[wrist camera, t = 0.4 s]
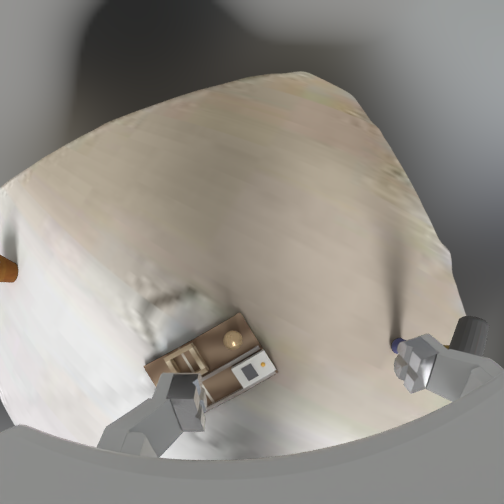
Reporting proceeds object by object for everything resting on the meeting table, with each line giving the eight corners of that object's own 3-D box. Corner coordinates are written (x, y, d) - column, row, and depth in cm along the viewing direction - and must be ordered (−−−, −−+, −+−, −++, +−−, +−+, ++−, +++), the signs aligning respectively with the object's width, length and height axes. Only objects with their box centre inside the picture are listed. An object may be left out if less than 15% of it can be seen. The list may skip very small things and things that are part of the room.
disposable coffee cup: (14, 293, 57) (-12, 288, 46) (1, 277, 58) (-23, 270, 46) (24, 267, 59) (-1, 259, 48) (12, 252, 60) (-12, 242, 48)
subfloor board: (277, 371, 57) (278, 373, 55) (181, 421, 53) (179, 424, 51) (240, 312, 60) (240, 312, 58) (145, 365, 56) (141, 367, 54)
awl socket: (209, 369, 55) (207, 371, 52) (183, 382, 54) (180, 385, 51) (192, 342, 57) (190, 343, 54) (166, 356, 55) (163, 358, 53)
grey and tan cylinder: (245, 339, 57) (246, 343, 49) (231, 348, 57) (229, 353, 48) (236, 325, 58) (236, 327, 50) (222, 334, 57) (219, 337, 49)
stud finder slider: (275, 367, 55) (276, 370, 53) (243, 385, 54) (243, 389, 51) (263, 348, 56) (264, 350, 53) (231, 367, 55) (230, 370, 52)
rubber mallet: (396, 371, 58) (476, 393, 28) (374, 363, 58) (455, 385, 29) (413, 327, 60) (497, 325, 31) (393, 317, 61) (478, 312, 32)
